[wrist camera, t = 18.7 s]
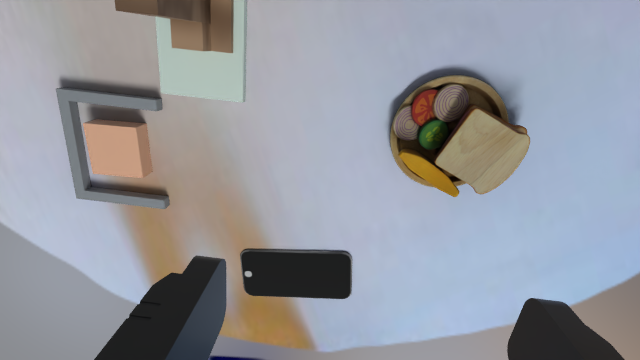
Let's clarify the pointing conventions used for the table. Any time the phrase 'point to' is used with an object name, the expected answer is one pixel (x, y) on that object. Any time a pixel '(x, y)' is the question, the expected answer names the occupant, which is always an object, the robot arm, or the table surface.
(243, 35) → the board
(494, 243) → the table surface
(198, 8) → the brown block
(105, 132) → the tile
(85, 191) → the bay
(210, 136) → the table surface
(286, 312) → the table surface
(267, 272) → the smartphone
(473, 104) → the toy sandwich meal
